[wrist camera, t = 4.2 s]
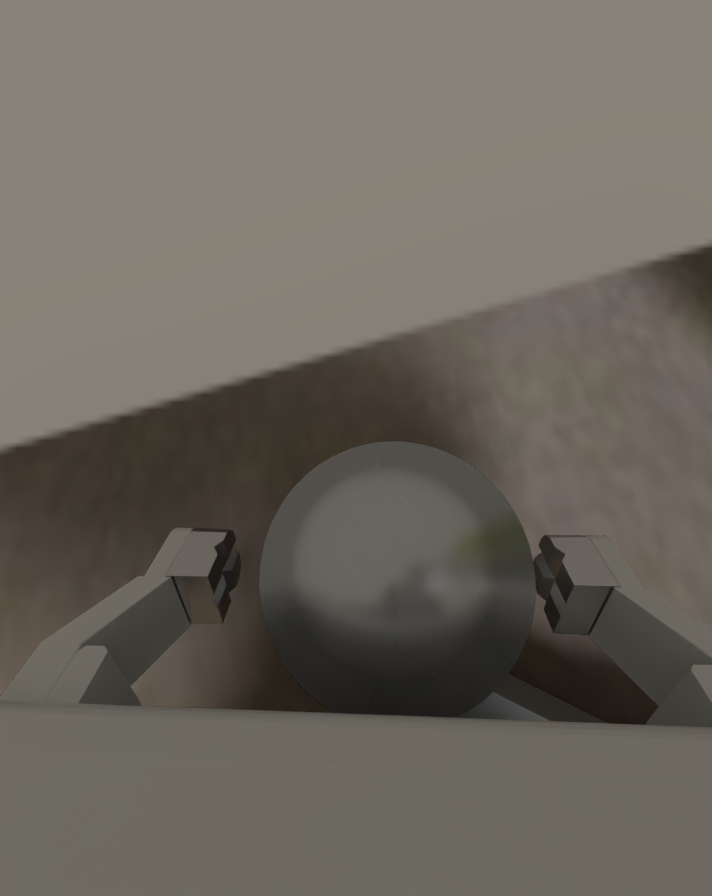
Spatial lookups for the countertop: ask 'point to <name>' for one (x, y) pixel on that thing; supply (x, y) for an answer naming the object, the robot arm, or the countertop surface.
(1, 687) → the countertop surface
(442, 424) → the countertop surface
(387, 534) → the grey cylinder
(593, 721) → the scale
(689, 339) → the countertop surface
